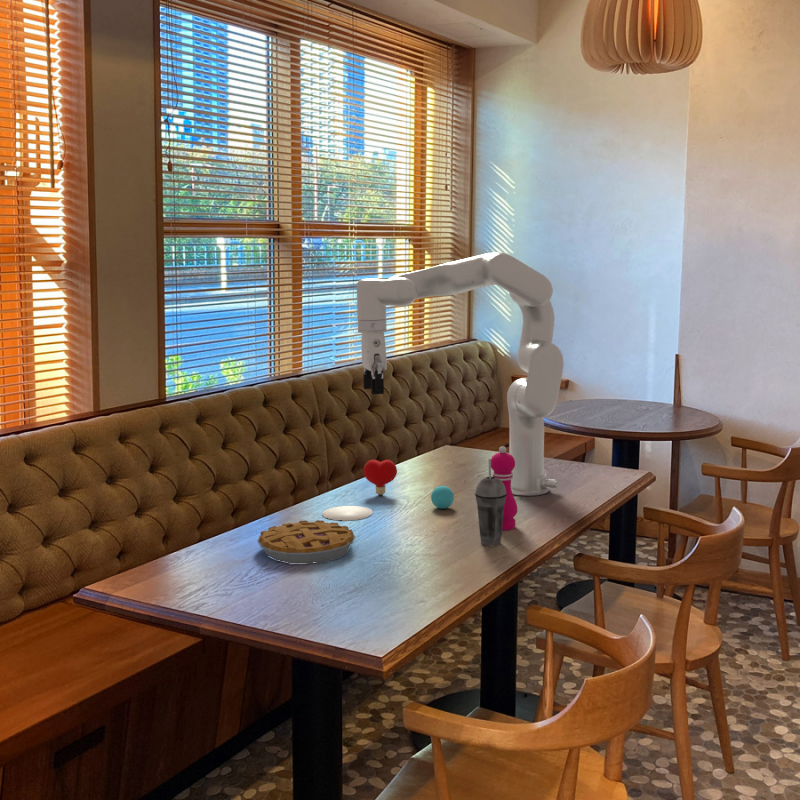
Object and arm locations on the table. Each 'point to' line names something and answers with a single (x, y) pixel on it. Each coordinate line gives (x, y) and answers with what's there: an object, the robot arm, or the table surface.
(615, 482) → the table surface
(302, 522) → the pie
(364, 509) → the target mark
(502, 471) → the pepper mill
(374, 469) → the light bulb
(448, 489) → the ball
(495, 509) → the beverage cup
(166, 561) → the table surface
